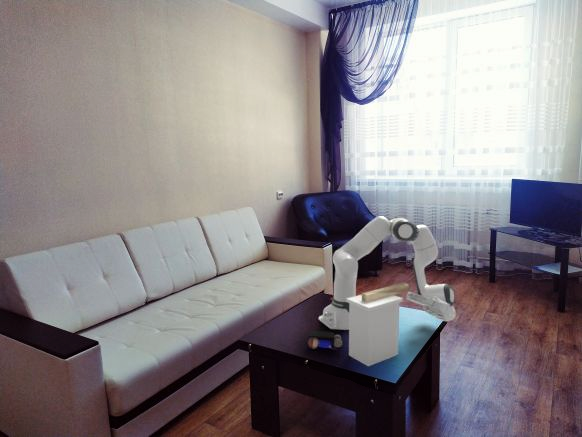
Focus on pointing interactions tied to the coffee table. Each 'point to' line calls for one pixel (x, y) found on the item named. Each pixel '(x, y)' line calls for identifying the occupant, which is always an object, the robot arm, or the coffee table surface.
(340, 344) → the figurine character
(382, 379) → the coffee table surface
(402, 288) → the beech bar
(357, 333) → the pedestal
